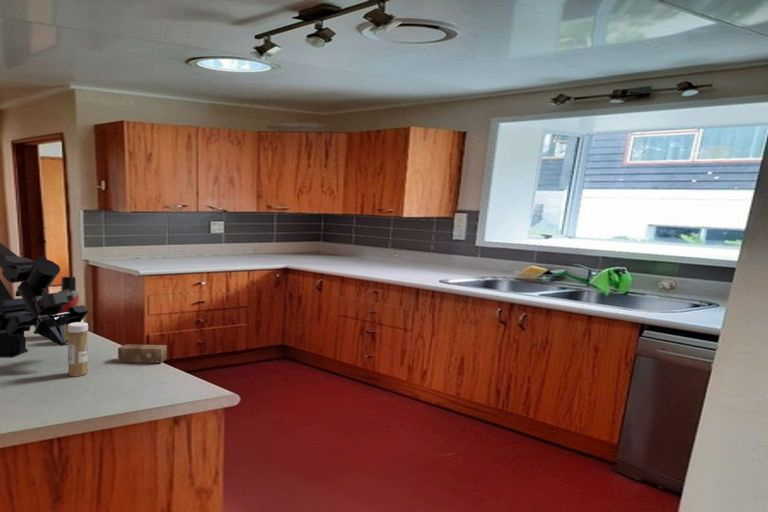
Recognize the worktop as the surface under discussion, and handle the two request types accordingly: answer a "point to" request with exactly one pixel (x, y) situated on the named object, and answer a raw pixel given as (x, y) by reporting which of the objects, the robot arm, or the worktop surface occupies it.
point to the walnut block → (142, 353)
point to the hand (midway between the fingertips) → (63, 344)
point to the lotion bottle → (71, 284)
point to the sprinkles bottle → (77, 348)
